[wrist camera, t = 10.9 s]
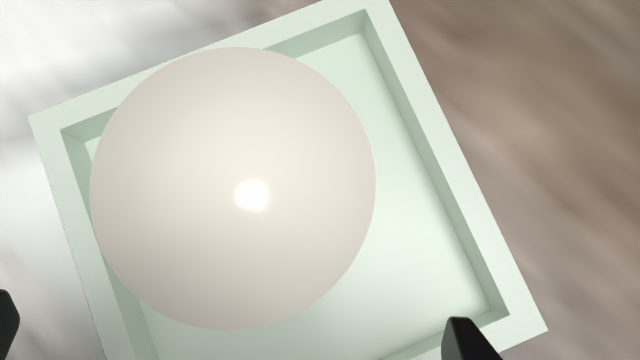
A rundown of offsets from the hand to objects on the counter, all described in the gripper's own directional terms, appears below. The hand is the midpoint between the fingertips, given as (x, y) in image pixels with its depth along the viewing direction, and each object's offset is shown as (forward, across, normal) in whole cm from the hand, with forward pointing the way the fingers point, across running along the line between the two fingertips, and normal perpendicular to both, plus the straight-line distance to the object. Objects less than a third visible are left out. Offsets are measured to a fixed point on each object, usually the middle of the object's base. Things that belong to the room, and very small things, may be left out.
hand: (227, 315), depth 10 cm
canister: (+9, 0, +5) cm, 10 cm away
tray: (+9, 0, +5) cm, 11 cm away
